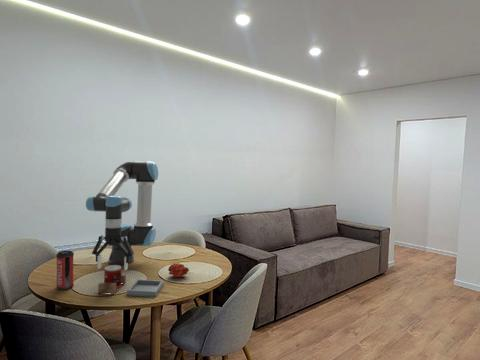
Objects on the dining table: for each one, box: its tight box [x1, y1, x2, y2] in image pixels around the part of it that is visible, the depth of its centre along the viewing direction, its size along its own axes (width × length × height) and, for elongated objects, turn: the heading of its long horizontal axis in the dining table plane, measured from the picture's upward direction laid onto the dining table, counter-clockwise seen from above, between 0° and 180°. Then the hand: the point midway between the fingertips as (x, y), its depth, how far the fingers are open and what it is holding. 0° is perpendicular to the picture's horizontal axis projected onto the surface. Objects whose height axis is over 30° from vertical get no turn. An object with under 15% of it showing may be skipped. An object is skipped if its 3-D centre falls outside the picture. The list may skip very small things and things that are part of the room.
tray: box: [126, 279, 165, 298], centre depth 156 cm, size 14×14×2 cm
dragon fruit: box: [167, 262, 190, 279], centre depth 175 cm, size 8×8×12 cm
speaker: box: [55, 250, 75, 291], centre depth 155 cm, size 8×8×18 cm
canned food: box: [103, 264, 122, 291], centre depth 156 cm, size 8×8×11 cm
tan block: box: [97, 273, 127, 295], centre depth 156 cm, size 8×14×5 cm, turn 178°
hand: (112, 268), depth 155 cm, fingers open, 13 cm apart
